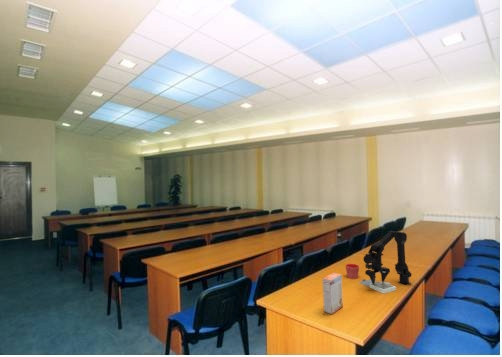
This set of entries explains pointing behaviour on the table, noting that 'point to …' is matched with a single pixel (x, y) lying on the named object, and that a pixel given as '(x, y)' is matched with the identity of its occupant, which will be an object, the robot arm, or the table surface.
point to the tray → (392, 288)
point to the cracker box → (332, 293)
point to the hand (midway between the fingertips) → (378, 283)
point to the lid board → (366, 282)
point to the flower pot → (352, 270)
